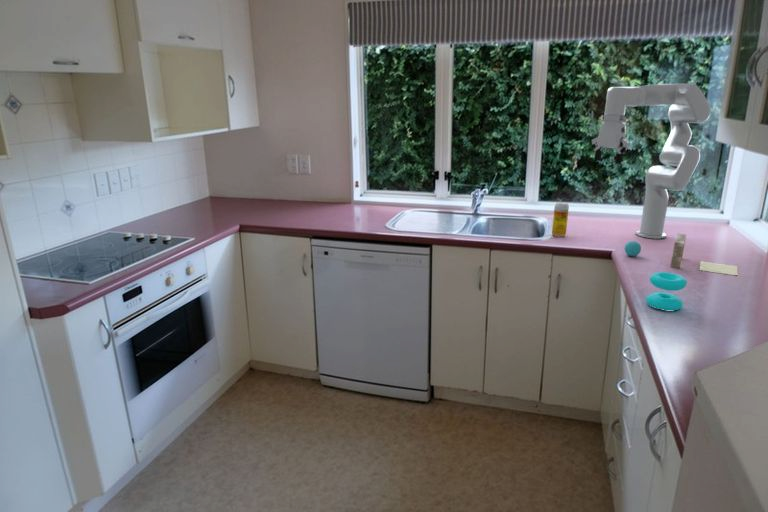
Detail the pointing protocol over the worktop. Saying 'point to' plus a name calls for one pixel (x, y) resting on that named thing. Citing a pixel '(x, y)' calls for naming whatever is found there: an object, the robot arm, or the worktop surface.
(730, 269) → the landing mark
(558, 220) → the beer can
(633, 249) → the ball
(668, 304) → the donuts
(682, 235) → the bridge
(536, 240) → the worktop surface
